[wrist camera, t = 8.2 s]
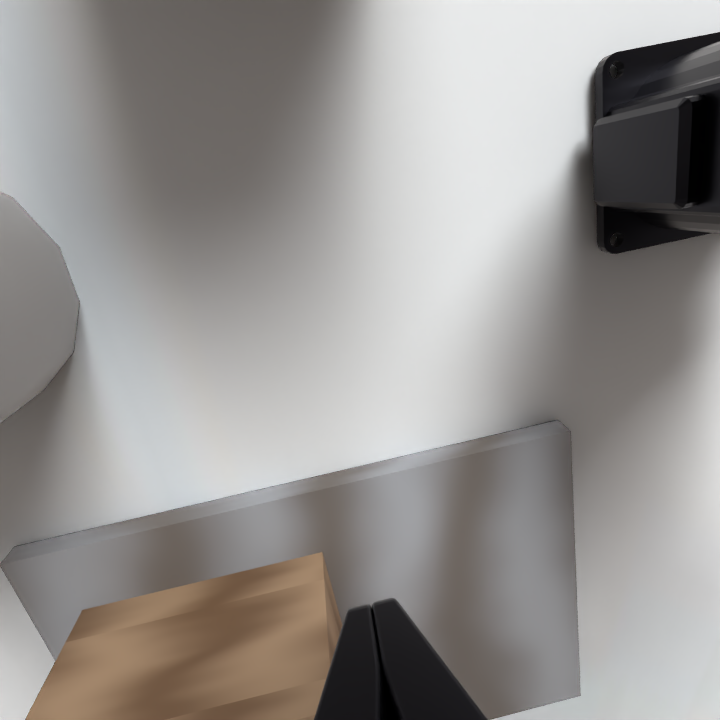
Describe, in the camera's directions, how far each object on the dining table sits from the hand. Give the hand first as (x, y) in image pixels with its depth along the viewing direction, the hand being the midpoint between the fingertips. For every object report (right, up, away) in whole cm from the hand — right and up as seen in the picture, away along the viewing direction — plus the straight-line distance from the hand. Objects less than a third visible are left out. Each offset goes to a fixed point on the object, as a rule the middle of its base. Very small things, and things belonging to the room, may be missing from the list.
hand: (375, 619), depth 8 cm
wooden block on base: (-1, -8, +14) cm, 16 cm away
